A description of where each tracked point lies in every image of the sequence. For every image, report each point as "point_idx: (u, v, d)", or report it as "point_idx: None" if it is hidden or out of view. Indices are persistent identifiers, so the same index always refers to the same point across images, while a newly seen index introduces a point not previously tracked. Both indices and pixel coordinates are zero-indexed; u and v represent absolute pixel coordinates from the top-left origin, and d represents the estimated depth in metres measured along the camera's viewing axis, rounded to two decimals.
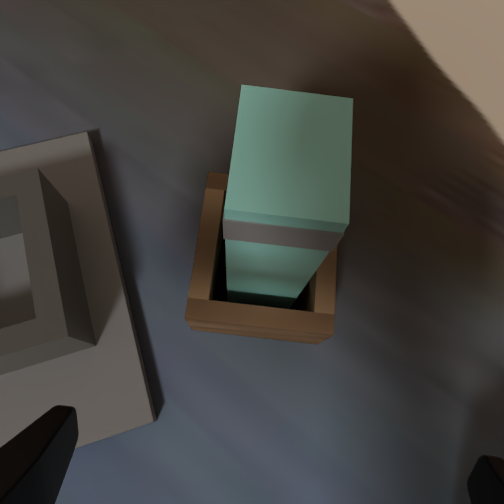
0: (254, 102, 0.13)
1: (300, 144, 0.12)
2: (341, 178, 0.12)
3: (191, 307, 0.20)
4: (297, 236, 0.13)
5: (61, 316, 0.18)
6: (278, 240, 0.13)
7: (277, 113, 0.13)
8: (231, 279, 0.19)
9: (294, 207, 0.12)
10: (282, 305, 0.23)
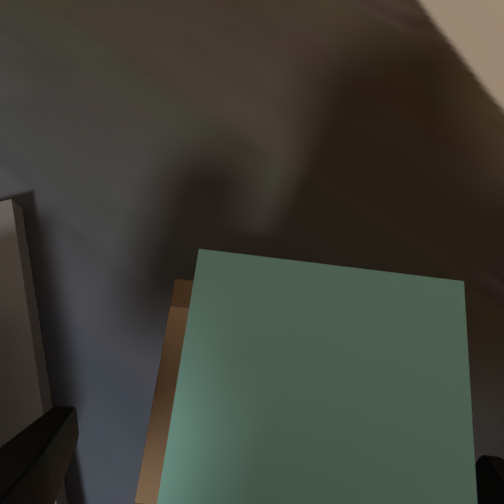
0: (228, 298, 0.05)
1: (342, 423, 0.05)
2: None
3: None
4: None
5: None
6: None
7: (284, 329, 0.05)
8: None
9: None
10: None
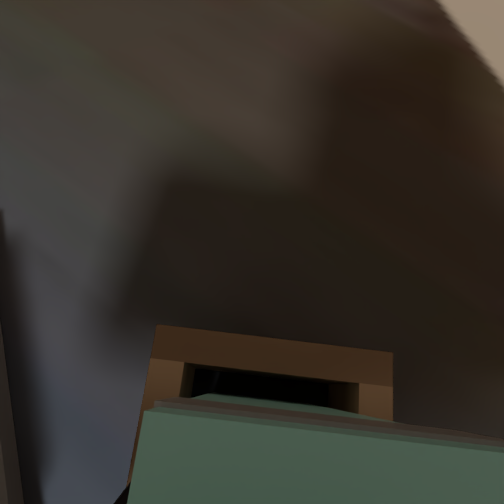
0: None
1: None
2: None
3: None
4: None
5: None
6: None
7: None
8: None
9: None
10: None
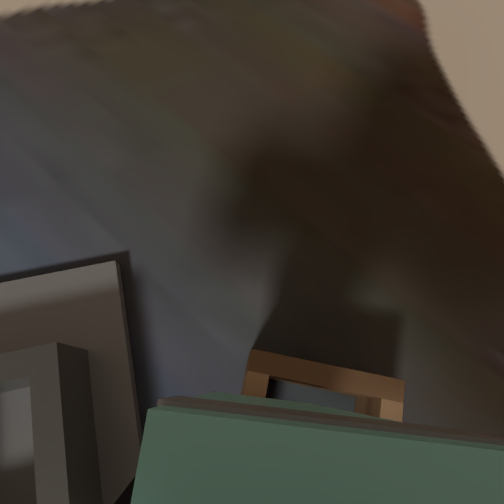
0: None
1: None
2: None
3: None
4: None
5: None
6: None
7: None
8: None
9: None
10: None
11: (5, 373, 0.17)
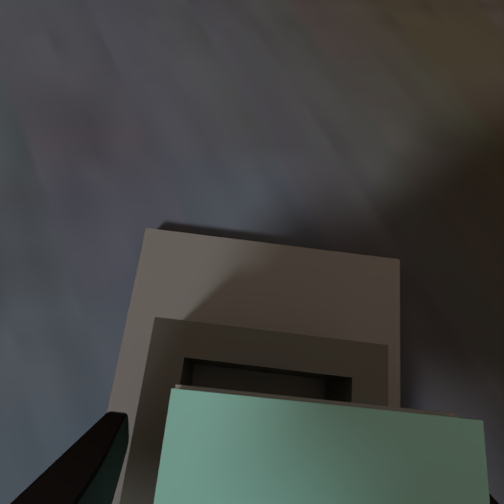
0: (205, 452, 0.04)
1: None
2: None
3: None
4: None
5: None
6: None
7: (272, 491, 0.04)
8: None
9: None
10: None
11: (325, 362, 0.14)
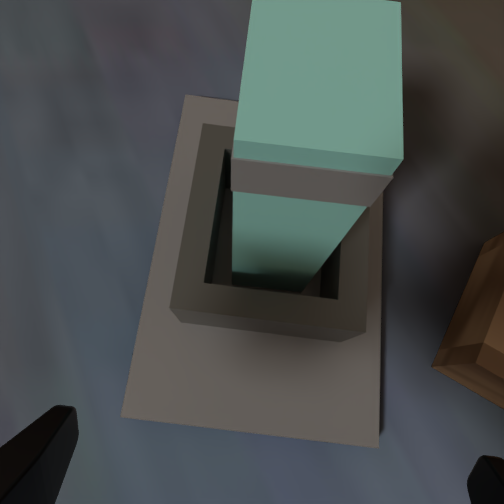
0: (271, 5, 0.10)
1: (333, 58, 0.09)
2: (390, 101, 0.09)
3: (485, 354, 0.17)
4: (328, 183, 0.10)
5: (363, 308, 0.17)
6: (302, 191, 0.10)
7: (302, 19, 0.10)
8: (238, 252, 0.16)
9: (329, 137, 0.09)
10: (295, 286, 0.20)
11: None
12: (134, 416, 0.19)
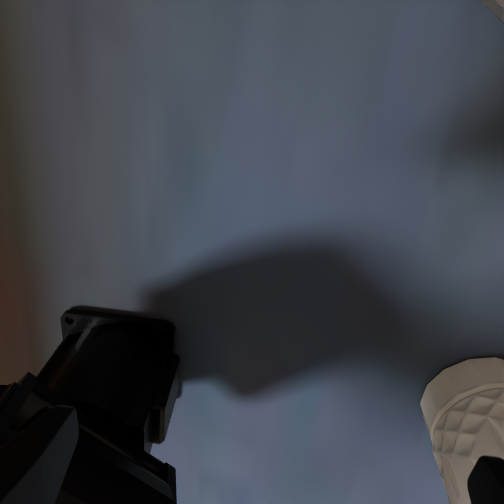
0: None
1: None
2: None
3: None
4: None
5: None
6: None
7: None
8: None
9: None
10: None
11: None
12: None
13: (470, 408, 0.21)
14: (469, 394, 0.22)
